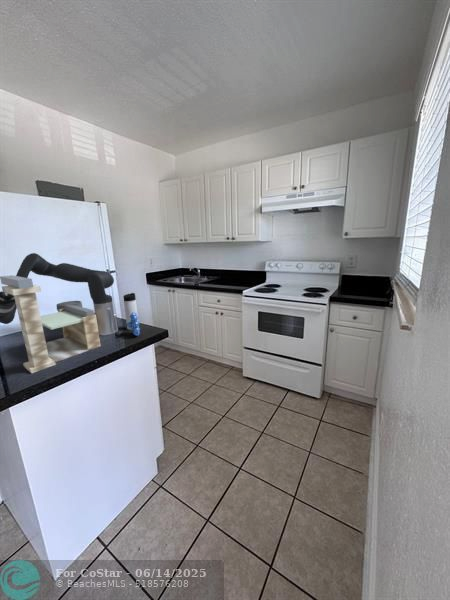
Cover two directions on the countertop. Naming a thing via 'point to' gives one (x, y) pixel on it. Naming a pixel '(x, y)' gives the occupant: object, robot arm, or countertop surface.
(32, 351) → the tall stand
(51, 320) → the trapdoor
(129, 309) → the travel mug
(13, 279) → the slate block
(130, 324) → the grapes
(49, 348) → the trapdoor frame
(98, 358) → the countertop surface
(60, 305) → the grey rounded piece
